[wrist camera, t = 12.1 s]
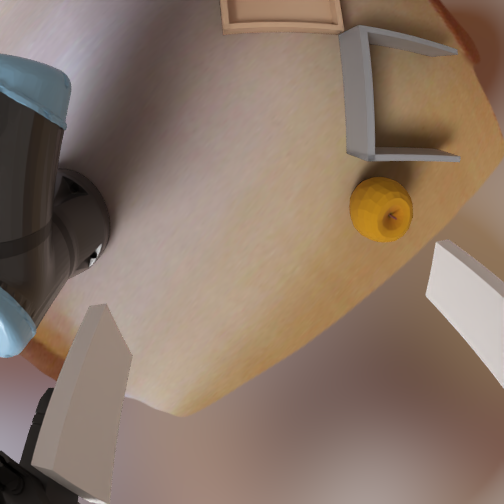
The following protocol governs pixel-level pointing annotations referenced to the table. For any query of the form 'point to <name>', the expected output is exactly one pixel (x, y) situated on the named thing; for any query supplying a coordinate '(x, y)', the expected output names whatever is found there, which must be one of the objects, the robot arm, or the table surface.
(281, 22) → the tray
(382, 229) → the apple
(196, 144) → the table surface
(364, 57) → the bay
